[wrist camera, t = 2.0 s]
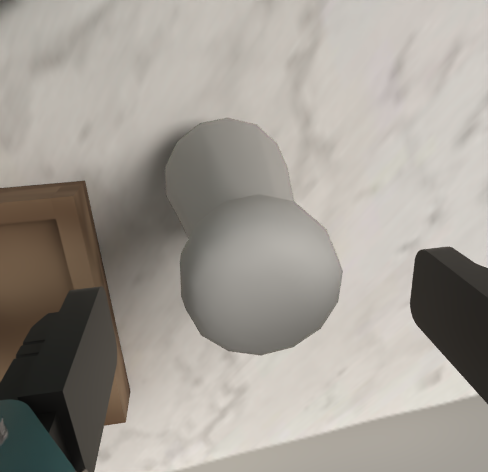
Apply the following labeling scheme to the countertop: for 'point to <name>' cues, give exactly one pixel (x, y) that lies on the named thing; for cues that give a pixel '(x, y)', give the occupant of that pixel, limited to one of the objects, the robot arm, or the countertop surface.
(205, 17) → the countertop surface
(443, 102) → the countertop surface
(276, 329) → the salt shaker
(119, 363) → the walnut tray
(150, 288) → the countertop surface
